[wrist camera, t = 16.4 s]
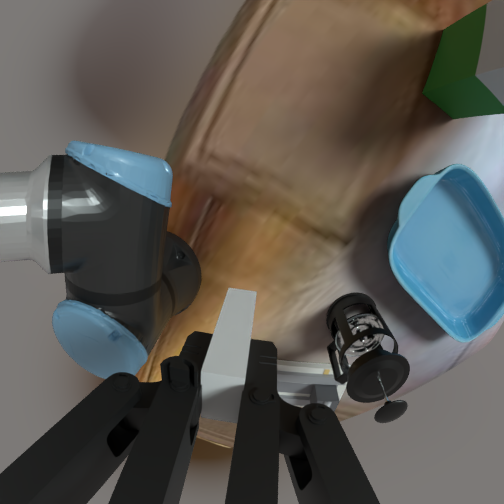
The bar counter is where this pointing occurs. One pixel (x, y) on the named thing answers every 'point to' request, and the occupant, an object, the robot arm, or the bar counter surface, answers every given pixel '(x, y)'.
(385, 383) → the french press
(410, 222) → the casserole dish
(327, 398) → the fader tab
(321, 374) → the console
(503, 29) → the hardback book
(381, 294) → the bar counter surface
